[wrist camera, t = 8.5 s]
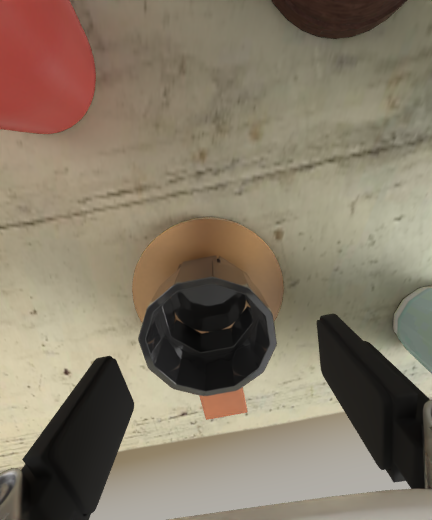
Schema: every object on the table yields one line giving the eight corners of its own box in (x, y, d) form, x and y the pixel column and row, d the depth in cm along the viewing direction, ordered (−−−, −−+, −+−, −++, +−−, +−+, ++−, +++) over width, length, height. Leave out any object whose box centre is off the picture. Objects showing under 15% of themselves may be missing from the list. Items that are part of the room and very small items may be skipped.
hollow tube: (151, 262, 16) (121, 294, 11) (247, 243, 16) (266, 266, 10) (180, 362, 18) (168, 428, 13) (263, 346, 18) (285, 407, 13)
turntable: (271, 204, 16) (276, 204, 15) (285, 336, 20) (290, 346, 18) (118, 232, 17) (111, 235, 15) (157, 358, 20) (153, 369, 19)
